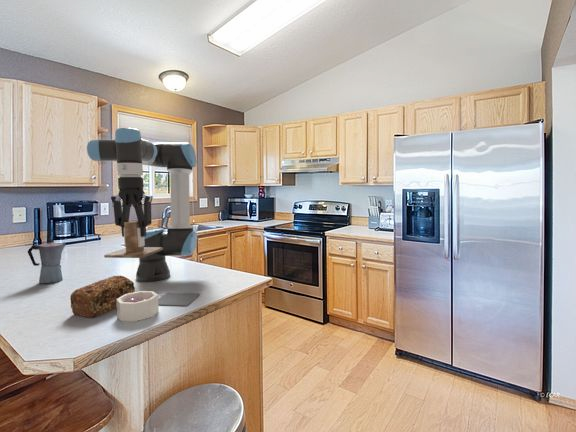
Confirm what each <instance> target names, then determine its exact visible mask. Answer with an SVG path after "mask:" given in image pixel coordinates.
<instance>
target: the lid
mask: <svg viewBox="0 0 576 432" xmlns="http://www.w3.org/2000/svg"><path fill="white" fill-rule="evenodd" d="M138 226H139V223H138V220H129V222H124V229H125V242H124V245H125V244H126V247H124V248H122V249H119V250H116V251H112V252H110V253H106V254H104V256H103V257H104V258H106V259H107V258H108V259H109V258H115V259H116V258H117V259H119V258H120V259H139V258H144V257H147V256H149V255H151V254H154V253H156V252H158V251H161V250H163V247H144V246H142V247H138V235H137V228H138Z"/></svg>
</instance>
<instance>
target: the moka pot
mask: <svg viewBox="0 0 576 432" xmlns="http://www.w3.org/2000/svg"><path fill="white" fill-rule="evenodd" d="M53 241H54V239H53V238H49V239H48V242H47V243H41V244H37V245H35V244H32V245H31V246H30V248H29V249H28V250H27V254H28V256H29V258H30V261H31V263H32V265H33V266H35V267H36V266H37V267H38V266H40V265H41V268H40V272H39V279H38V283H40V284H54V283H59V282H62V281H63V280H64V279H63V272H62V265H61V260H62V254H63V251H64V248H65V246H67V244H66V243H64V242H63V243H61V242H60V243H59V242H53ZM33 250H38V251H39V258H40V262H41V264H40V263H37V261H35V258H34V255H33V253H32V251H33Z"/></svg>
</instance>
